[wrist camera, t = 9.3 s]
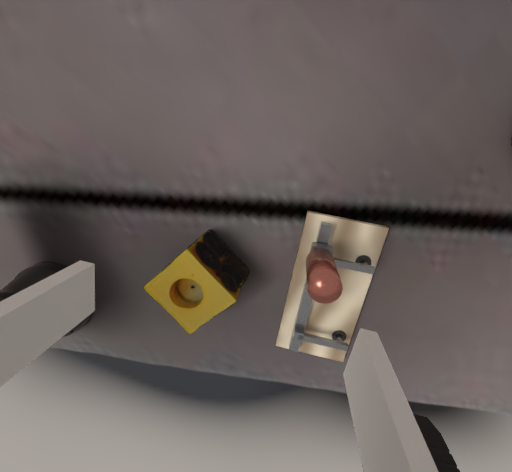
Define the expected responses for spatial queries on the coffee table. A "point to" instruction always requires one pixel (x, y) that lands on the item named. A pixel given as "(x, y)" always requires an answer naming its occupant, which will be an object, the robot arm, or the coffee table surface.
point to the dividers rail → (305, 306)
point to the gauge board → (354, 282)
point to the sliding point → (328, 273)
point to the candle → (199, 282)
